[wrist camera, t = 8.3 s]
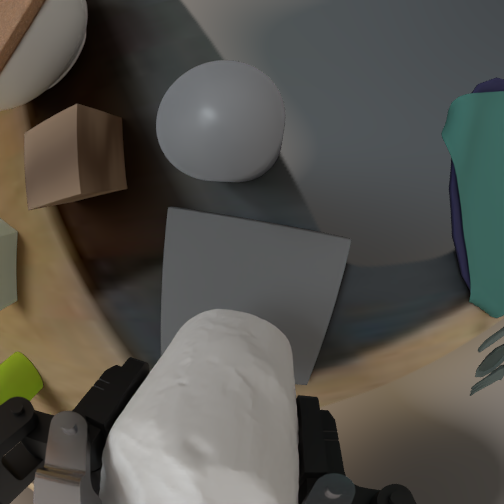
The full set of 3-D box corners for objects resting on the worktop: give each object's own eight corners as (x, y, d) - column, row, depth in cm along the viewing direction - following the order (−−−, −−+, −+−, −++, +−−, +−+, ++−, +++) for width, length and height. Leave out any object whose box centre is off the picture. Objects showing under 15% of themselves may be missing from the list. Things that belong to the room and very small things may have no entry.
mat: (171, 206, 16) (168, 207, 16) (349, 237, 16) (351, 239, 15) (163, 352, 19) (161, 356, 18) (306, 380, 19) (306, 385, 18)
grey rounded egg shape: (205, 98, 14) (170, 59, 9) (287, 107, 14) (294, 67, 8) (191, 176, 16) (146, 174, 10) (273, 188, 15) (273, 191, 10)
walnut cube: (71, 138, 16) (24, 133, 11) (122, 118, 15) (77, 103, 10) (75, 201, 17) (28, 210, 12) (127, 188, 16) (80, 193, 11)
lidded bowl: (80, -10, 11) (18, -51, 1) (139, 22, 13) (56, -51, 2) (6, 85, 14) (-67, 75, 4) (42, 146, 16) (-65, 148, 5)
